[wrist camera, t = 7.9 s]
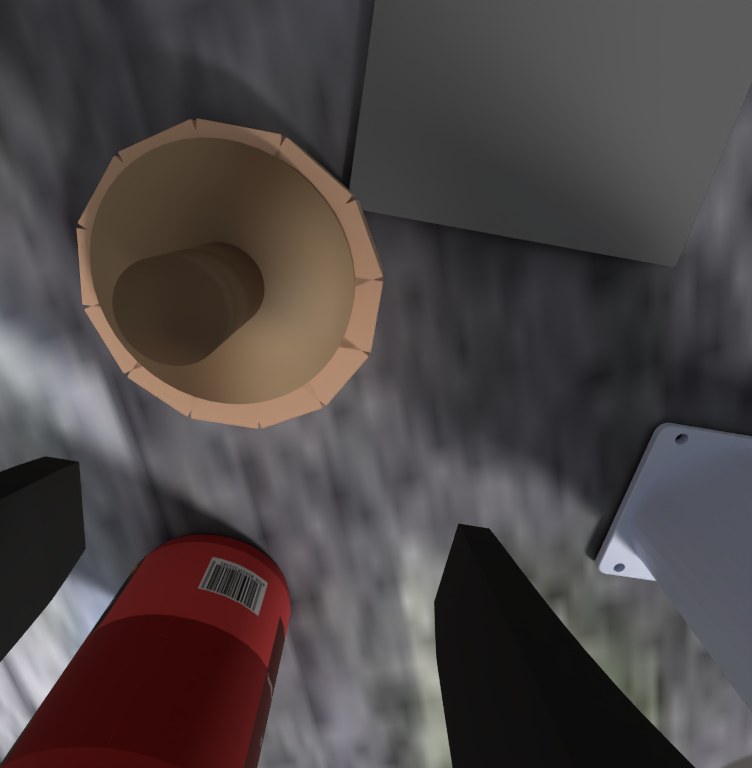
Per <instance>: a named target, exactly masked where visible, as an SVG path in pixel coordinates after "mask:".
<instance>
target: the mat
mask: <svg viewBox="0 0 752 768" xmlns="http://www.w3.org/2000/svg"><path fill="white" fill-rule="evenodd" d="M751 83H752V0H375V4H374V11H373V19H372V26H371V33H370V41H369V48H368V55H367V63H366V70H365V77H364V85H363V92H362V99H361V107H360V114H359V122H358V129H357V136H356V144H355V151H354V158H353V166H352V173H351V180H350V188H349V190H350V191H351V192H352V193H353V194H354V195H356V198H355V199H354V200H359V201H360V204H361V207H362V210H363V211H369V212H374V213H380V214H385V215H391V216H396V217H402V218H407V219H412V220H418V221H423V222H429V223H434V224H440V225H445V226H451V227H456V228H462V229H467V230H473V231H478V232H483V233H489V234H494V235H500V236H505V237H511V238H516V239H522V240H527V241H533V242H538V243H544V244H549V245H554V246H560V247H565V248H571V249H576V250H582V251H587V252H593V253H598V254H604V255H609V256H615V257H620V258H625V259H631V260H636V261H642V262H647V263H653V264H658V265H664V266H669V267H676V265H677V263H678V260H679V258H680V255H681V253H682V250H683V248H684V246H685V243H686V241H687V238H688V236H689V233H690V231H691V229H692V226H693V224H694V221H695V219H696V216H697V214H698V212H699V209H700V207H701V204H702V202H703V199H704V197H705V195H706V192H707V190H708V187H709V185H710V182H711V180H712V178H713V175H714V173H715V170H716V168H717V166H718V163H719V161H720V158H721V156H722V153H723V151H724V149H725V146H726V144H727V141H728V139H729V136H730V134H731V132H732V129H733V127H734V124H735V122H736V119H737V117H738V115H739V112H740V110H741V107H742V105H743V102H744V100H745V98H746V95H747V93H748V90H749V88H750V85H751ZM354 200H353V201H354Z"/></svg>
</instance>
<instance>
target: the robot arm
mask: <svg viewBox="0 0 752 768" xmlns="http://www.w3.org/2000/svg"><path fill="white" fill-rule="evenodd" d="M680 434H682V436H681V437H680V438H679V439H677V440H675V439H676V437H677V436H678V435H680ZM85 549H86V547H85V534H84V521H83V508H82V495H81V482H80V470H79V462H76V461H70V460H64V459H58V458H52V457H42V458H39V459H36V460H33V461H29V462H27V463H24V464H21V465H18V466H15V467H12V468H10V469H7V470H4V471H1V472H0V662H1V661H2V659H3V658H4V657H5V656H6V655H7V653H8V652H9V651H10V650H11V649H12V648H13V646H14V645H15V644H16V643H17V642H18V640H19V639H20V638H21V637H22V636H23V634H24V633H25V632H26V631H27V630H28V628H29V627H30V626H31V625H32V624H33V622H34V621H35V620H36V619H37V618H38V616H39V615H40V614H41V613H42V611H43V610H44V609H45V608H46V606H47V605H48V604H49V603H50V602H51V600H52V599H53V597H54V596H55V594H56V593H57V592H58V590H59V589H60V587H61V586H62V584H63V583H64V581H65V580H66V578H67V577H68V575H69V574H70V572H71V571H72V569H73V567H74V566H75V564H76V563H77V561H78V560H79V558H80V556H81V555H82V553H83V552H84V550H85ZM595 564H596V566H597V568H598V569H599V571H600V572H602V573H605V574H612V575H619V576H626V577H633V578H640V579H647V580H654V581H657V583H658V584H659V585H660V587H661V588H662V589H663V591H664V592H665V594H666V595H667V596H668V598H669V599H670V600H671V602H672V603H673V605H674V606H675V607H676V609H677V610H678V611H679V613H680V614H681V616H682V617H683V618H684V620H685V621H686V622H687V624H688V625H689V627H690V628H691V629H692V631H693V632H694V633H695V635H696V636H697V638H698V639H699V640H700V642H701V643H702V644H703V646H704V647H705V649H706V650H707V651H708V653H709V654H710V655H711V657H712V658H713V660H714V661H715V662H716V664H717V665H718V666H719V668H720V669H721V671H722V672H723V673H724V675H725V676H726V677H727V679H728V680H729V682H730V683H731V684H732V686H733V687H734V688H735V690H736V691H737V693H738V694H739V695H740V697H741V698H742V699H743V701H744V702H745V704H746V705H747V706H748V708H749V709H750V710H751V712H752V436H747V435H741V434H735V433H729V432H723V431H717V430H711V429H705V428H699V427H692V426H686V425H680V424H674V423H664V424H661V425H660V426H658V427H657V428H656V429H655V431H654V433H653V435H652V437H651V439H650V442H649V444H648V446H647V448H646V450H645V452H644V455H643V457H642V459H641V461H640V463H639V466H638V468H637V470H636V472H635V474H634V477H633V479H632V481H631V483H630V485H629V488H628V490H627V492H626V494H625V496H624V498H623V501H622V503H621V505H620V507H619V509H618V512H617V514H616V516H615V518H614V520H613V523H612V525H611V527H610V529H609V531H608V534H607V536H606V538H605V540H604V542H603V545H602V547H601V549H600V551H599V553H598V555H597V558H596V561H595ZM616 564H618V565H616ZM615 565H616V566H615ZM434 610H435V639H436V658H437V665H438V673H439V680H440V686H441V693H442V700H443V707H444V714H445V720H446V727H447V733H448V740H449V747H450V753H451V760H452V767H453V768H695V767H694V766H693V765H692V764H691V763H690V762H689V761H688V760H687V759H686V758H685V757H684V756H683V755H682V754H681V753H680V752H679V751H678V750H677V749H676V748H675V747H674V746H673V745H672V744H671V743H670V742H669V741H668V740H667V739H666V738H665V737H664V736H663V734H662V733H661V732H660V731H659V730H658V729H657V728H656V727H655V726H654V725H653V724H652V723H651V722H650V721H649V720H648V719H647V718H646V717H645V716H644V715H643V714H642V713H641V712H640V711H639V710H638V709H637V708H636V707H635V705H634V704H633V703H632V702H631V701H630V700H629V699H628V698H627V697H626V696H625V695H624V694H623V692H622V691H621V690H620V689H619V688H618V687H617V686H616V685H615V684H614V682H613V681H612V680H611V679H610V678H609V677H608V676H607V674H606V673H605V672H604V671H603V670H602V669H601V668H600V666H599V665H598V664H597V663H596V662H595V661H594V660H593V658H592V657H591V656H590V655H589V654H588V653H587V652H586V651H585V649H584V648H583V647H582V646H581V645H580V643H579V642H578V641H577V640H576V639H575V637H574V636H573V635H572V634H571V633H570V631H569V630H568V629H567V628H566V627H565V625H564V624H563V623H562V622H561V620H560V619H559V618H558V617H557V615H556V614H555V613H554V612H553V610H552V609H551V608H550V607H549V605H548V604H547V603H546V602H545V600H544V599H543V598H542V597H541V595H540V594H539V593H538V591H537V590H536V589H535V588H534V586H533V585H532V584H531V582H530V581H529V580H528V578H527V577H526V576H525V574H524V573H523V572H522V571H521V569H520V568H519V567H518V565H517V564H516V563H515V561H514V560H513V559H512V557H511V556H510V555H509V553H508V552H507V551H506V549H505V548H504V547H503V545H502V544H501V543H500V542H499V540H498V539H497V538H496V536H495V535H494V534H493V533H492V531H491V530H490V529H489V528H482V527H476V526H470V525H464V524H458V527H457V530H456V533H455V536H454V540H453V543H452V546H451V549H450V553H449V556H448V559H447V562H446V566H445V569H444V572H443V575H442V579H441V582H440V585H439V588H438V591H437V595H436V598H435V601H434Z"/></svg>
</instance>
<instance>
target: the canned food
mask: <svg viewBox="0 0 752 768" xmlns="http://www.w3.org/2000/svg"><path fill="white" fill-rule="evenodd" d="M289 618H290V598H289V590H288V586H287V583H286V580H285V578H284V576H283V574H282V572H281V571H280V569H279V568H278V567H277V565H276V564H275V563H274V562H273V561H272V560H271V559H270V558H269V557H268V556H266V555H265V554H264V553H262V552H261V551H260V550H258V549H256V548H254V547H252V546H251V545H249V544H247V543H244V542H242V541H239V540H236V539H233V538H230V537H225V536H220V535H210V534H196V535H186V536H182V537H179V538H175V539H172V540H170V541H168V542H166V543H164V544H162V545H160V546H159V547H158V548H156V549H155V550H154V551H152V552H151V553H150V554H149V555H147V556H146V557H145V558H144V559H142V560H141V561H140V562H139V563H138V564H137V566H136V567H135V568H134V570H133V571H132V572H131V574H130V575H129V577H128V578H127V580H126V581H125V583H124V584H123V585H122V587H121V588H120V590H119V591H118V593H117V594H116V596H115V597H114V599H113V600H112V602H111V603H110V604H109V606H108V607H107V609H106V610H105V612H104V613H103V615H102V616H101V618H100V619H99V621H98V622H97V623H96V625H95V626H94V628H93V629H92V631H91V632H90V634H89V635H88V637H87V638H86V640H85V641H84V643H83V644H82V645H81V647H80V648H79V650H78V651H77V653H76V654H75V656H74V657H73V659H72V660H71V662H70V663H69V664H68V666H67V667H66V669H65V670H64V672H63V673H62V675H61V676H60V678H59V679H58V681H57V682H56V683H55V685H54V686H53V688H52V689H51V691H50V692H49V694H48V695H47V697H46V698H45V700H44V701H43V702H42V704H41V705H40V707H39V708H38V710H37V711H36V713H35V714H34V716H33V717H32V719H31V720H30V721H29V723H28V724H27V726H26V727H25V729H24V730H23V732H22V733H21V735H20V736H19V738H18V739H17V740H16V742H15V743H14V745H13V746H12V748H11V749H10V751H9V752H8V754H7V755H6V757H5V758H4V760H3V761H2V762H1V764H0V768H257V766H258V761H259V757H260V752H261V747H262V743H263V738H264V733H265V729H266V724H267V719H268V715H269V710H270V706H271V701H272V696H273V692H274V687H275V682H276V678H277V673H278V669H279V664H280V659H281V655H282V650H283V645H284V641H285V636H286V631H287V627H288V622H289Z"/></svg>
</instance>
